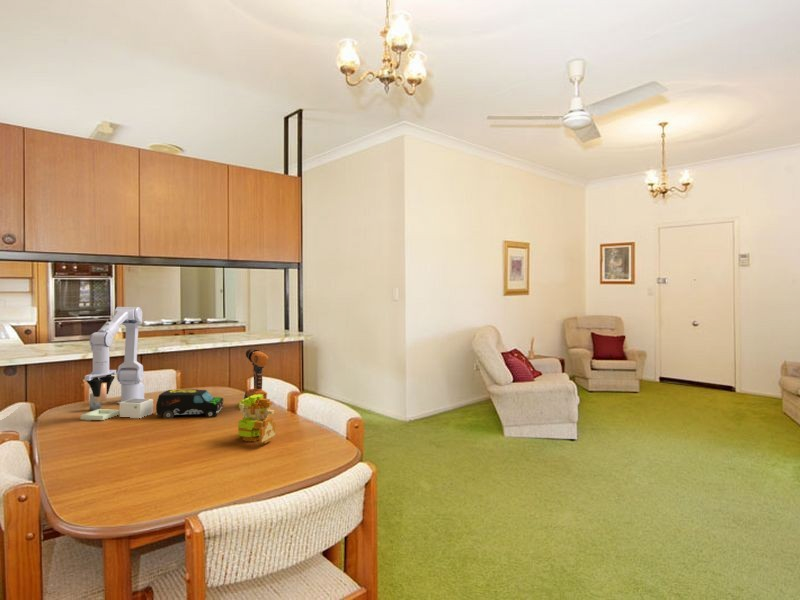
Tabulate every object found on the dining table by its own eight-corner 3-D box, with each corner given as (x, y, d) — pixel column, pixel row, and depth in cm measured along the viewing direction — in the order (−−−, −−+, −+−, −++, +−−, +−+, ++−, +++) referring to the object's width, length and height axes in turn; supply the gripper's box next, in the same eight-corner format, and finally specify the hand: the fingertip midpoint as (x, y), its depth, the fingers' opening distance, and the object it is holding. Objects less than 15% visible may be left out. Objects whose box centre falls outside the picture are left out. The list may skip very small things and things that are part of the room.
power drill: (239, 400, 220) (239, 347, 220) (254, 398, 225) (255, 347, 224) (253, 410, 203) (253, 353, 202) (269, 408, 207) (270, 352, 206)
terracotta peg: (100, 399, 191) (100, 382, 191) (109, 399, 190) (109, 382, 190) (92, 401, 187) (92, 383, 187) (101, 401, 186) (101, 384, 186)
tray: (99, 413, 194) (99, 408, 194) (120, 414, 193) (120, 409, 193) (80, 419, 184) (80, 414, 184) (102, 421, 183) (102, 416, 183)
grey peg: (94, 408, 202) (94, 392, 202) (102, 409, 202) (103, 392, 202) (87, 410, 198) (87, 394, 198) (95, 411, 198) (95, 394, 198)
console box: (133, 412, 197) (133, 397, 197) (153, 413, 196) (153, 398, 196) (119, 417, 188) (119, 402, 188) (139, 418, 187) (139, 403, 187)
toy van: (218, 417, 191) (218, 393, 191) (154, 419, 188) (154, 394, 187) (224, 411, 202) (224, 388, 202) (163, 412, 198) (163, 389, 198)
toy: (261, 448, 155) (262, 403, 154) (225, 443, 158) (225, 399, 158) (284, 434, 169) (285, 393, 169) (250, 431, 173) (251, 390, 173)
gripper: (105, 359, 196) (105, 391, 196) (77, 364, 182) (77, 398, 182) (120, 359, 195) (120, 391, 195) (94, 364, 181) (93, 399, 181)
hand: (100, 395), depth 188 cm, fingers closed on terracotta peg, 4 cm apart
